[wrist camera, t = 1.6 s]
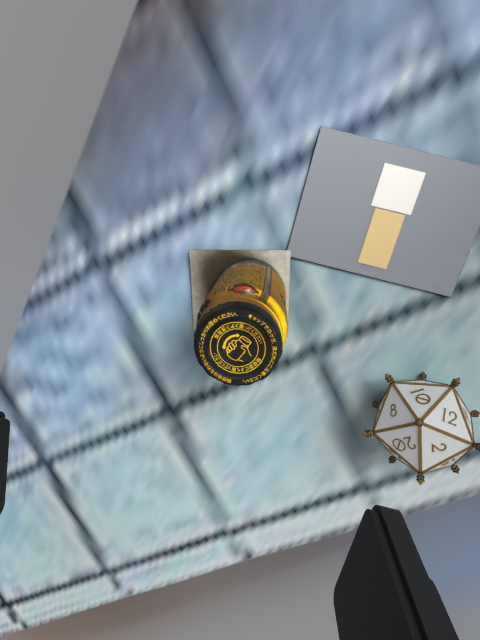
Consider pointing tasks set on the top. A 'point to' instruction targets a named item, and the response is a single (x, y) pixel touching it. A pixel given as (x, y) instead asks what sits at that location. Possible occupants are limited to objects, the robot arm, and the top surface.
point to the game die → (424, 424)
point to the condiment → (239, 311)
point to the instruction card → (387, 212)
